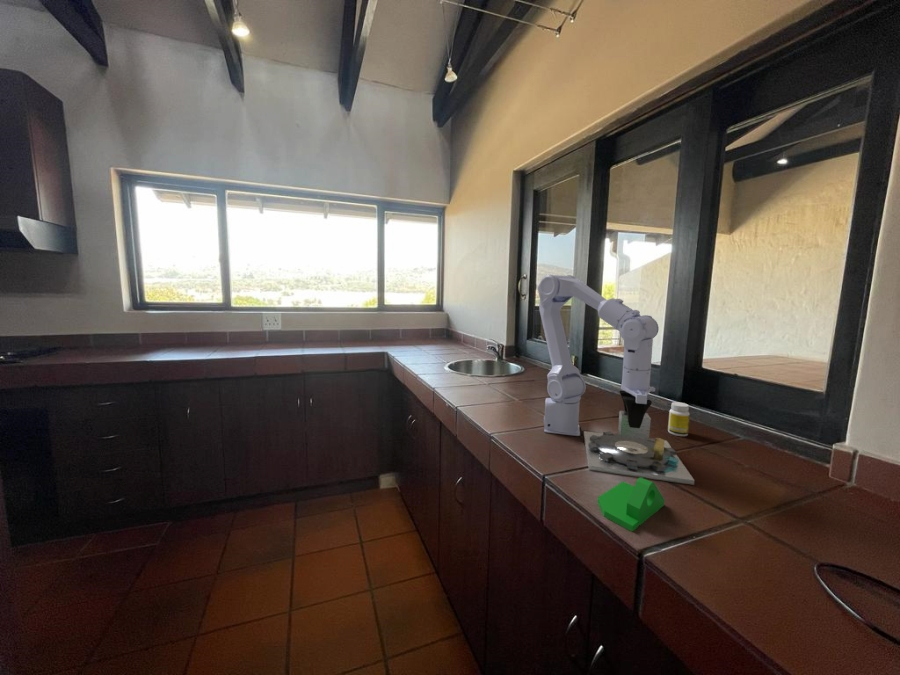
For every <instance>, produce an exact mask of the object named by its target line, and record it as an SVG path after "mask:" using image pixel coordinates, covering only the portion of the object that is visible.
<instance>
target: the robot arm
mask: <svg viewBox="0 0 900 675" xmlns="http://www.w3.org/2000/svg"><path fill="white" fill-rule="evenodd" d="M537 292H538V295H539V307H538V310H539V314H540V319H541V324H542V327H543V332H544V336H545V340H546V341H545V342H546V345H547V349H548V354H549V358H550V363H551V369H550V371H549V372H548V373H547V375H546V377H547V378H546V379H547V386H546V388H547V393H548V395H549V397H545V404H544V416H543V424H544V425H543V428H544V430H543V431H544V433H548V434H549V433H550V434H557V435H558V434H559V435H566V436H574V437H580V436H581V431H580V425H579V417H580V416H579V415H580V414H579V413H580V400H582V399H581V396H582V395H584V394H585V392H586V387H587V386H586V385H587V384H586V382H585V380H584V378H583V377H582V375H581V373H580V372H581V371H580V369H579V368H577V366H575V365H574V364H573V363H572V358H571V353H570V348H569V345H568V341H567V337H566V333H565V332H566V331H565V328H564V324H563V320H562V314H561V310H562V308H563V306H565V305H566V304H567V303H568V302H569V301H570V300H571V299H572V298H573V297H575V299H577V300H579V301H581V302H583V303H584V304H586V305H587V306H589V307H591V308H593V309H595V310H596V311H597V315H598V318H599V319H601V320H603V322H604V323H607V325H609V326H611V327H613V328H614V329H616V331H618V332H619V334H620V336H621V338H622V340H623V359H622V360H623V361H622V377H621V385H620V389H621V390H619V392H618V393H619V394H620V396H621V399H622V403H623V407H624V411H627V413H628V422H629V426H630V427H631V428H640V426H641V424H642V421H643V418H644V415H645V413H647V411H648V409H649V408H651V407H650V406H652V403H653V402H652V400H651V399H648V395H649V394H650V392H651V393H653V392H654V393H655V391H656V387H654V386H650V383H651V371H652V370H651V369H652V360H653V359H652V357H653V356H652V355H653V345H654V344H653V342H654V338H655V337H656V336H657V335H658V333H659V324H658V322H657V320H655V319H654V318H653V316H652V315H648V314H647V315H646V314H644V315H641V313H640V312H641V311H639V310H637V309H632V308H630V307H629V306H628V305H626V304H625V303H624V300H623V299H621V298H613V297H612V298H608V299H606V298H605V297H604V296H602V295H601V294H599V293H598V291H597V292H596V290H594V289H593V288H591V287H590V286H588V285H587V284H585V283H584V282H583V280H582V279H580V278H576V277H575V276H573V275H570V274H569V275H568V274H567V275H556V274H555V275H554V274H546V275H544V276H543V277H542V278H541V280H540V282H539V284H538V286H537Z"/></svg>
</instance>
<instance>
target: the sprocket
mask: <svg viewBox="0 0 900 675" xmlns="http://www.w3.org/2000/svg"><path fill="white" fill-rule="evenodd" d="M602 433H603V435H602V436H595V435H592V436H591V437H590V441H593V442H595V444H593V443H589V445H588V447H589V449H590V450H593V451H598V452H599V453H600V454H601V455H600V458H601V459H603V460H605V461H607V462H609V461H612V460H613V461H616V462H619V463H622V464H626V465H627V468H629V469H634V470H637V468H638V467H644V468H653V469H654V470H656V471H666V466H665V465H667V464H671V465H674V466H677V464H678V461H679V459H680V458H679V459H677V458H673V457H671V455H677V451H676V450H675V449H674V448H673V447H671V448H665V447H664V441H665V439H663V438H661V437H655V438H653V437H651V438H650V437H649V439H643V438H635V437H626V436H620V433H613V432H612V431H603V432H602Z"/></svg>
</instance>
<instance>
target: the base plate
mask: <svg viewBox="0 0 900 675" xmlns="http://www.w3.org/2000/svg"><path fill="white" fill-rule="evenodd" d="M592 435H595V436H602V435H603V432H602V433H601V432H594V431H593V432H592V431H583V439H584V440H583V441H584V446H585V452H586V453H585V454H586V459H587V460H586V462H587V466H588V471H594V472H595V471H596V472H602V473H608V474H615V475H622V476H627V477H629V476H630V477H636V478H640V477H641V478H644V479H650V480H656V481H657V480H658V481H664V482H671V483H677V484H684V485H690V486H692V485H693V486H694V485H695V481H696V480H695V479H694V478H693V476H692V474H690V472H689V470H688V469H687V467H686V466H685V464H683V462H682V460H681V459H680V457H679V456H678V455H677V454H676V455H671V457H673V458H677V459H679V461H678V464H677V466H674V465H671V464H667V465H665V466H666V471H656V470H654V469H653V468H644V467H638V468H637V470H634V469H629V468H627V465H626V464H622V463H619V462H616V461H613V460H612V461H609V462H607V461H605V460H603V459H601V458H600V455H601V454H600V453H599V452H598V451H593V450H590V449H589V447H588V445H589V443H593V444H595V442H593V441H590V437H591V436H592ZM664 440H665V439H664ZM664 447H665V448H672V446H671V445H670V443H669V442H668V440H665V441H664Z"/></svg>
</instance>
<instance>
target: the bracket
mask: <svg viewBox="0 0 900 675" xmlns="http://www.w3.org/2000/svg"><path fill="white" fill-rule="evenodd" d="M665 501H666V500H665V498H664V496H663V494H662V493H661V492H660V490H659V489H658V487H657V485H656V484H655V482H653V481H651V480H648V479H647V478H642V477H637V480H636V482H635V484H634V485H633V484H630V483H628V482H625V481H621V482H620V483H618V484H617V485H615V486H613V487H612V488H610V489H608V490H607V491H606V492H604V493H602V494H601V495H599V496H598V497H597V504H598V507H599V509H600V511H601V513H602V515H603V517H605V518H606V519H608V520H610V521H612V522H613V523H615V524H617V525H619V526H621V527H622V528H624V529H626V530H628V531H629V532H631V531H633V532H634V531H635V530H636V529H637V528H639V527H640V526H641V525H642V524H644V523H645V522H646V521H647V520H648V519H649V518H651V517H652V516H653V515H654V514H655V513H657V512H658V511H659V510H661V508H663V507H664V506H665ZM651 515H652V516H651ZM650 516H651V517H650ZM646 519H647V520H646ZM645 520H646V521H645ZM644 521H645V522H644ZM639 525H640V526H639ZM638 526H639V527H638Z"/></svg>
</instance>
